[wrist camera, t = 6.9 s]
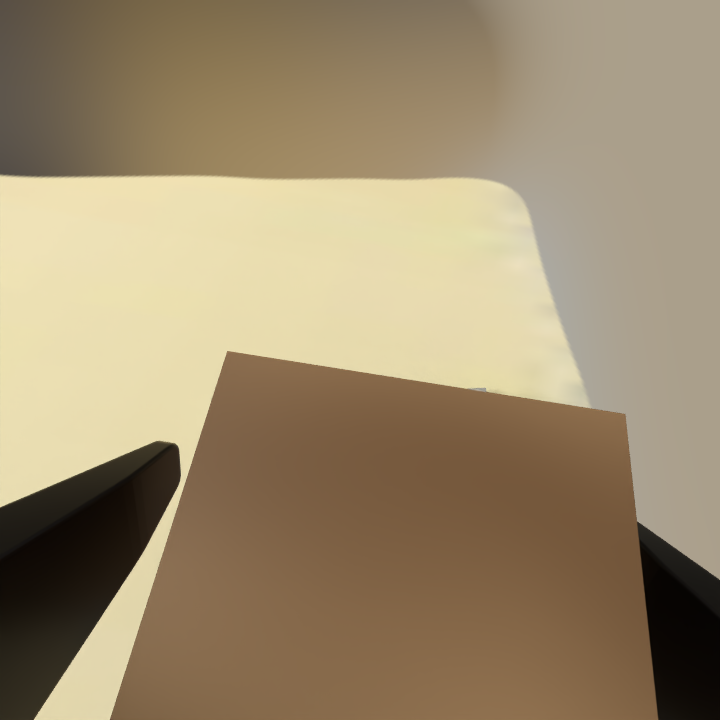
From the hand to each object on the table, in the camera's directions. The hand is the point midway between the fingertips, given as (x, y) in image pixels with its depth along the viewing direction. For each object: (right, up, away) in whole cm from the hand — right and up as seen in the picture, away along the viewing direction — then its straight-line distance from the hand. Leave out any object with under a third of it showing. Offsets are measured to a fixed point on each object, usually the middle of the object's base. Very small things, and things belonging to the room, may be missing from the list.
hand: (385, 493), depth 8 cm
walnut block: (0, -4, +7) cm, 8 cm away
